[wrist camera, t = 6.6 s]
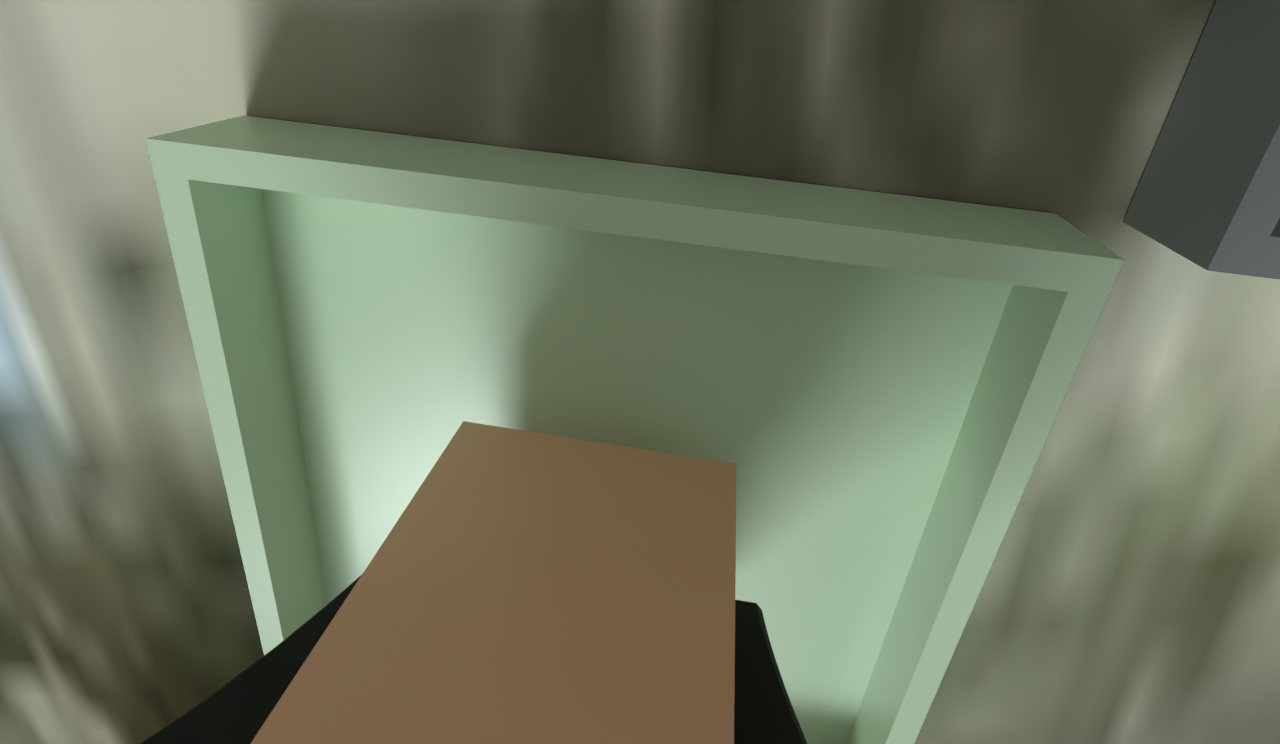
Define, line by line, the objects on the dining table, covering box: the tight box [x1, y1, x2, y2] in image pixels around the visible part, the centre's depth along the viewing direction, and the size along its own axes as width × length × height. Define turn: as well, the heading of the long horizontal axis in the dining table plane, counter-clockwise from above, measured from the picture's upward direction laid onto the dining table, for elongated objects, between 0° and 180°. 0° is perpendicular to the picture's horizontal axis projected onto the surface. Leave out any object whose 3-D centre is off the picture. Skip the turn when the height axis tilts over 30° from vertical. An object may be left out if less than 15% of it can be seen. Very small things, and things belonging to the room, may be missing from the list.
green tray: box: [146, 116, 1124, 744], centre depth 13 cm, size 13×13×2 cm
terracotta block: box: [251, 421, 736, 744], centre depth 10 cm, size 4×4×6 cm
